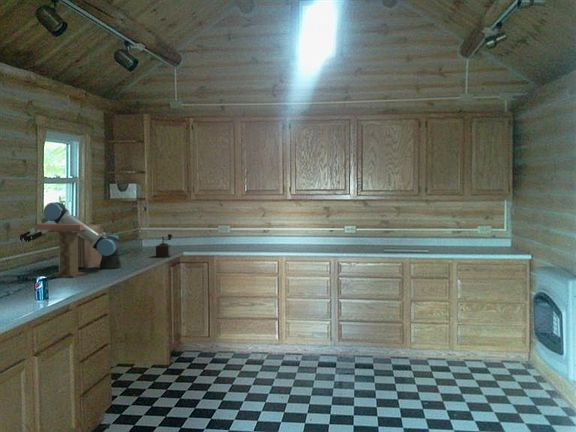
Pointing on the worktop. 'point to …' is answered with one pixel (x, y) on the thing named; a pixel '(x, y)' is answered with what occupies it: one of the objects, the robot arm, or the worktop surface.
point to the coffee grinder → (164, 248)
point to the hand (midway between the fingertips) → (41, 228)
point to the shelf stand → (68, 254)
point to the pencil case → (59, 226)
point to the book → (89, 250)
